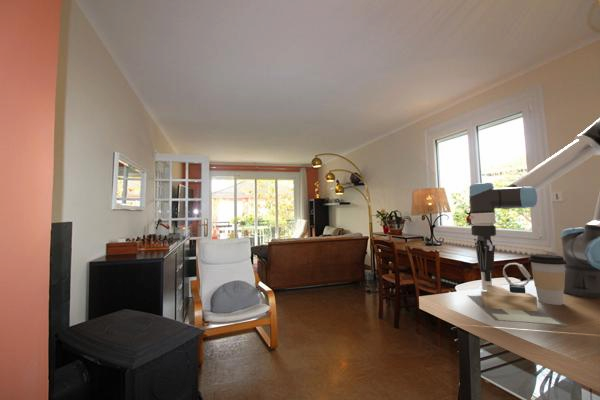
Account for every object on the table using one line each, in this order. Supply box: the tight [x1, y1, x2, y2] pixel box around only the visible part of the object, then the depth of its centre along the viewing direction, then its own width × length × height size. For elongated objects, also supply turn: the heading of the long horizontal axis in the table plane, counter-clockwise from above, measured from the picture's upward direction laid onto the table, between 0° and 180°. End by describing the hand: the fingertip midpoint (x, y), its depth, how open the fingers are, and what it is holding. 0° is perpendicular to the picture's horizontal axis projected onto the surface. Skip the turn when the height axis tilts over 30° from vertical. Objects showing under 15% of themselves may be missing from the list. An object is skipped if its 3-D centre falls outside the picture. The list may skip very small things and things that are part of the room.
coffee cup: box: [527, 253, 567, 306], centre depth 89 cm, size 9×9×15 cm
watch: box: [502, 262, 532, 293], centre depth 98 cm, size 6×8×11 cm
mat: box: [467, 295, 569, 326], centre depth 83 cm, size 16×24×1 cm, turn 164°
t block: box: [480, 284, 539, 311], centre depth 88 cm, size 13×13×4 cm
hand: (487, 289), depth 100 cm, fingers closed
